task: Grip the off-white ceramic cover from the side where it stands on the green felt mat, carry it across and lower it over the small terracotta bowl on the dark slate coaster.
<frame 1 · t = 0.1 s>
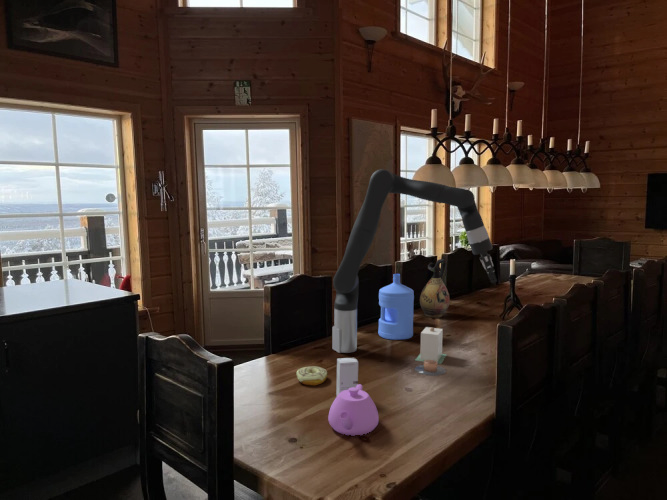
hand: (493, 280, 184), 31 cm above the table, tool tilted 20°, fingers open, 8 cm apart
felt mat: (431, 358, 190), on the table
ceramic jug: (435, 315, 258), on the table
ceramic cover: (431, 357, 190), resting on felt mat
decorated donut: (311, 381, 167), on the table
skincare box: (347, 397, 153), on the table
water jug: (395, 335, 221), on the table
teapot: (352, 428, 134), on the table
slate coaster: (430, 370, 176), on the table
clay bowl: (430, 369, 176), resting on slate coaster
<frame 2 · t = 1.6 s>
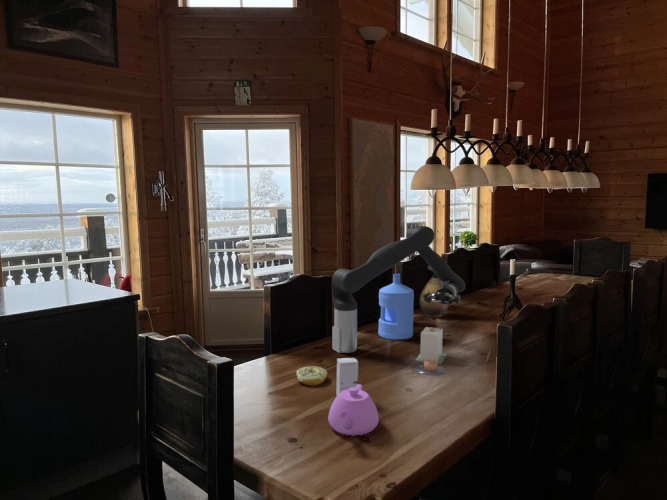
hand: (438, 301, 198), 20 cm above the table, tool horizontal, fingers open, 8 cm apart
nothing on the table moved.
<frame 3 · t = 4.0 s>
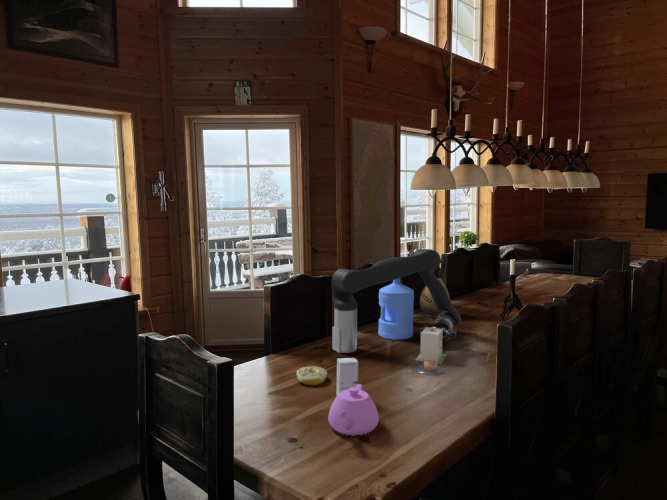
hand: (434, 337, 196), 6 cm above the table, tool horizontal, fingers open, 8 cm apart
nothing on the table moved.
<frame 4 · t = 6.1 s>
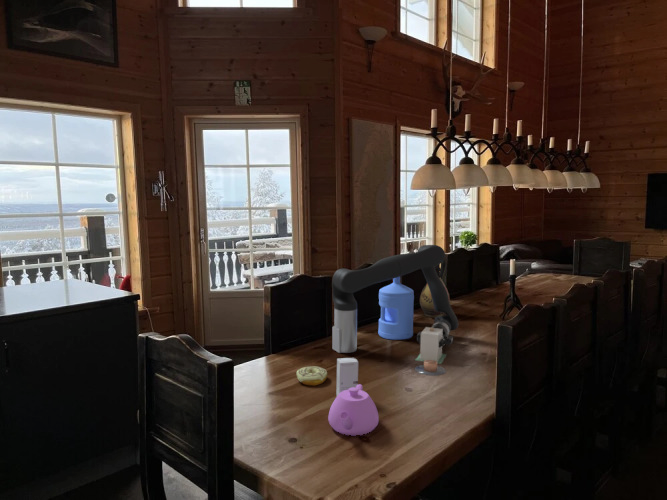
hand: (430, 343, 187), 6 cm above the table, tool horizontal, fingers closed on ceramic cover, 6 cm apart
ceramic cover: (431, 357, 190), resting on felt mat, touching gripper
everything else where it was.
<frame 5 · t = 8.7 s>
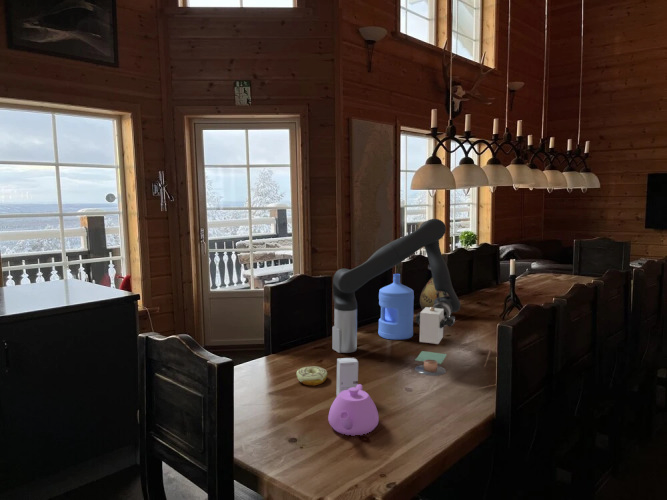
hand: (430, 324, 173), 18 cm above the table, tool horizontal, fingers closed on ceramic cover, 6 cm apart
ceramic cover: (431, 339, 175), point 12 cm above the table, touching gripper
everything else where it was.
when the fingers open (7 cm above the table, at t = 11.3 s): ceramic cover stays where it is, resting on slate coaster.
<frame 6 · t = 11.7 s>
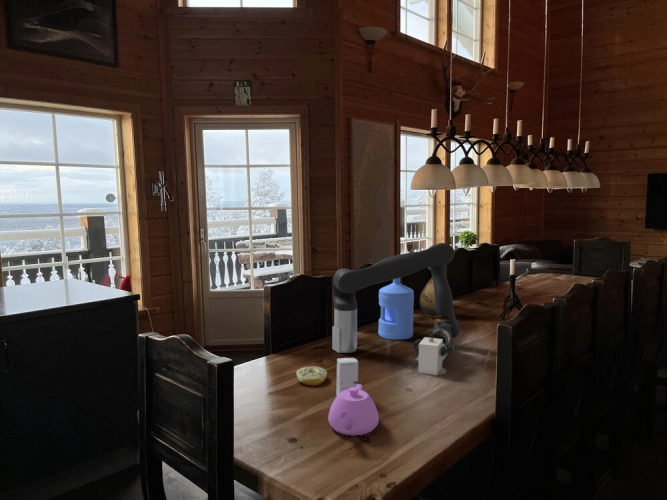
hand: (429, 352, 174), 8 cm above the table, tool horizontal, fingers open, 8 cm apart
ceramic cover: (430, 369, 176), resting on slate coaster
everything else where it was.
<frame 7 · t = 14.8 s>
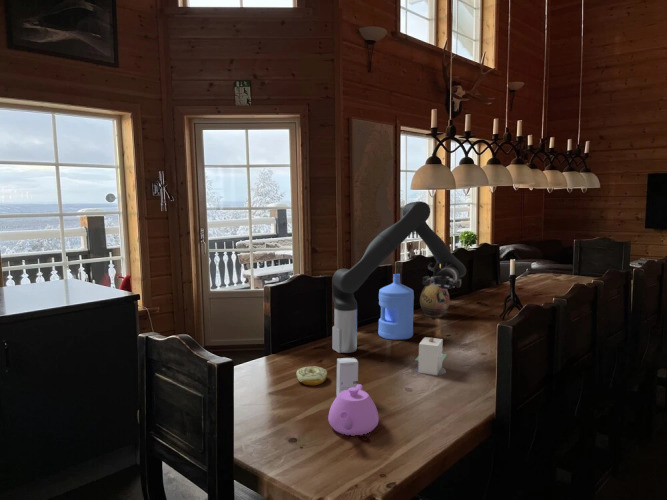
hand: (438, 284, 183), 30 cm above the table, tool horizontal, fingers open, 8 cm apart
nothing on the table moved.
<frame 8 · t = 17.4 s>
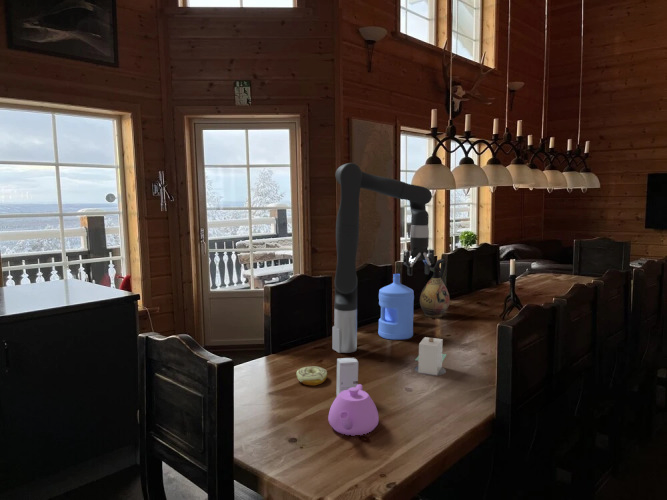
hand: (418, 274, 203), 30 cm above the table, tool pointing down, fingers open, 8 cm apart
nothing on the table moved.
at the end: ceramic cover 0.1 cm from the clay bowl (horizontally); ceramic cover tilted 0°; ceramic cover resting on slate coaster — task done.
